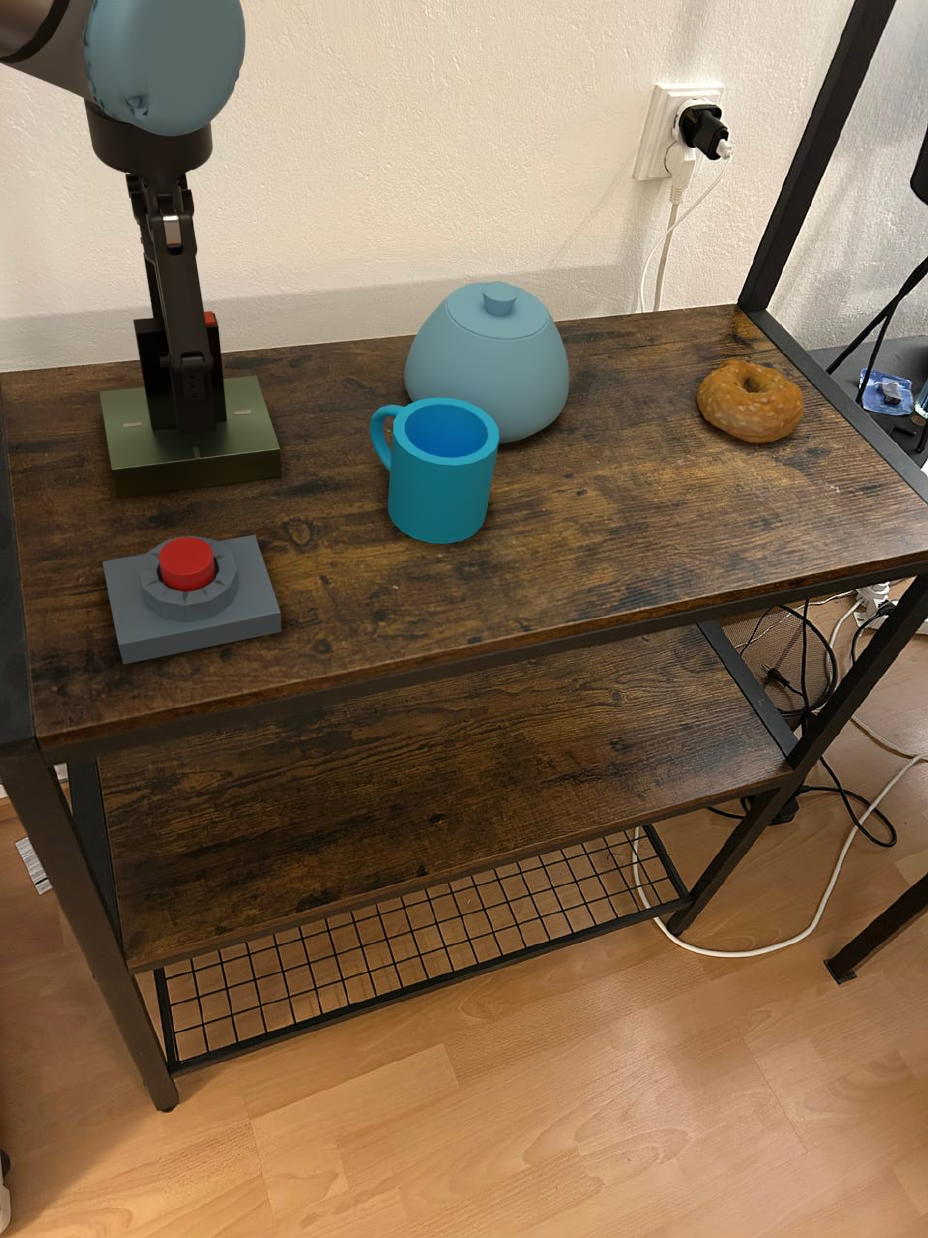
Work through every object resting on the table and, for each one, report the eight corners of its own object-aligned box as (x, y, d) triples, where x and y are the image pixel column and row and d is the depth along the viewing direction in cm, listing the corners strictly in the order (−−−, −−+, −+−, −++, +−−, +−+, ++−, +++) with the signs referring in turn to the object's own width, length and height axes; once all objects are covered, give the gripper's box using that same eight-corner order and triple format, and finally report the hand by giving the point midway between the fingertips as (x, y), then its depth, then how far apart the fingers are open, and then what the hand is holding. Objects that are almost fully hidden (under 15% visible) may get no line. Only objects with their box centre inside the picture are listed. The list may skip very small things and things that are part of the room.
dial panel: (118, 499, 77) (111, 468, 74) (105, 419, 83) (98, 388, 80) (281, 477, 80) (280, 447, 78) (257, 402, 86) (256, 372, 84)
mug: (506, 512, 81) (521, 434, 75) (438, 559, 76) (448, 480, 70) (404, 440, 85) (410, 362, 79) (335, 481, 81) (335, 401, 75)
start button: (166, 596, 66) (163, 578, 65) (157, 559, 68) (154, 541, 67) (219, 586, 67) (217, 569, 66) (209, 550, 69) (207, 532, 68)
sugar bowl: (591, 397, 92) (619, 287, 84) (508, 477, 84) (530, 363, 75) (461, 335, 97) (475, 225, 88) (370, 404, 88) (375, 289, 79)
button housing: (123, 664, 66) (113, 627, 63) (107, 581, 71) (97, 543, 68) (281, 632, 70) (279, 595, 67) (256, 554, 74) (253, 516, 71)
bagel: (802, 400, 96) (821, 359, 93) (785, 464, 89) (805, 422, 86) (706, 369, 98) (721, 328, 94) (682, 430, 91) (697, 388, 87)
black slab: (151, 430, 78) (135, 329, 71) (149, 416, 79) (132, 316, 72) (227, 421, 80) (218, 322, 73) (223, 408, 81) (214, 309, 74)
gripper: (243, 182, 54) (262, 472, 70) (178, 14, 69) (206, 286, 85) (102, 189, 52) (155, 487, 68) (66, 14, 66) (117, 293, 82)
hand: (184, 376), depth 76 cm, fingers open, 13 cm apart
